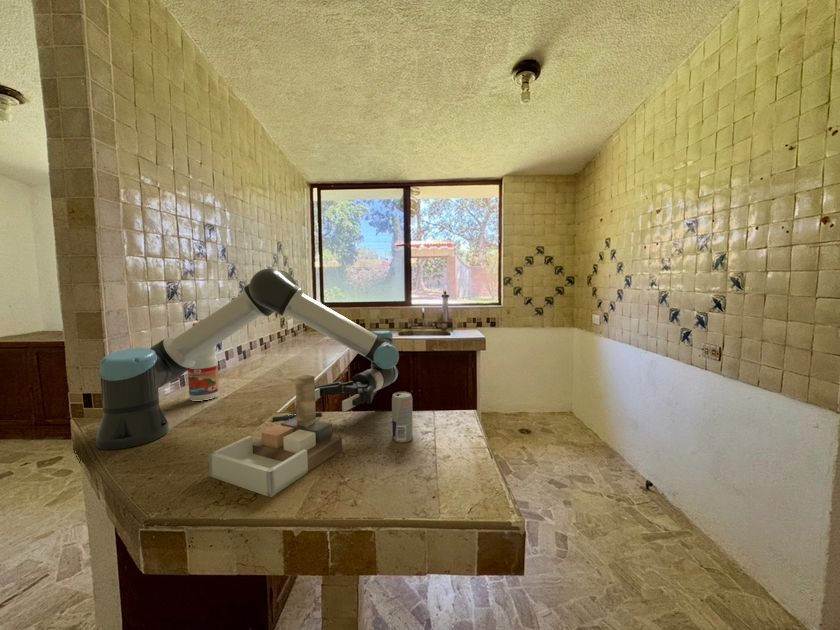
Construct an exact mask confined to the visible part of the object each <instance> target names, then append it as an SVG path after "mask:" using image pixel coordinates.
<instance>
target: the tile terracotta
mask: <svg viewBox="0 0 840 630" xmlns="http://www.w3.org/2000/svg"><path fill="white" fill-rule="evenodd" d="M291 433H293V428H291V427H286V426H281V425H280V424H276V425H275V426H272V427H270V428H268V429H265V430H263V431H261V438H262V445H266V446H270V447H274V448H279V447H281V446H283V445H284V443H283V437H285V436H287V435H289V434H291Z"/></svg>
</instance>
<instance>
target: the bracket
mask: <svg viewBox="0 0 840 630" xmlns="http://www.w3.org/2000/svg"><path fill="white" fill-rule="evenodd" d="M289 414H293V415H289V416H288V415H287V414H284V415H281V416H280V415H279V416H272V422H277V421H276V420H283V421H286V420H285V419H292V418H294V417H297V410H296V409H294V410H293V411H292V412H290V413H289ZM294 414H296V415H294ZM322 415H323V412H321V411H319V412H316V418H320V417H323V416H322Z"/></svg>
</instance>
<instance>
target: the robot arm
mask: <svg viewBox="0 0 840 630" xmlns="http://www.w3.org/2000/svg"><path fill="white" fill-rule="evenodd" d="M274 313H276V314H278V315H280V316H282V317H285V318H286V317H291V318H293V319H294V320H297V321H299V322H300V323H302V324H304V325H305V326H307V327H309V328H311V329H313V330H315V331H317V332H318V333H321V334H322V335H324V336H326V337H328V338H330V339H331V340H332V341H336V342H337V343H338V344H341V345H342V346H344V347H346V348H347V349H349V350H352V351H353V352H355V353H357V354H359V355H360V356H363V357H364V358H365V359H368V360H369V361H370V367H371V368H369V369H366V370H363V371H362V372H360V373H356V374H354V376H353V377H352V378H351V379H350V380H349V381H347V382H343V380H339V381H338V380H337V381H335V382H330V383H324V384H320V385H319V384H318V385H315V401H316V400H319V399H320V398H321V397H326V396H334V395H340V396H344V395H348V396H350V397H348V398H346V399H343V400H342V401H341V410H342V412H343V413H345V412H348V411H349V410H350V409H353V408H354V407H357V406H359V405H360V404H361V405H363V404H365V403H366V404H367V405H371V404H372V401H373V399H374V396H375V395H376V394H377V391H379V390H381V389H384V388H385V387H388V386H391V384H393V383H394V382H396V380H397V379H398V375H399V370H398V368H397V366H396V365H397V364H398V362H399V359H400V353H399V350H398V348H397V347H396V345H395V344H394V343H393V340H394V337H393V333H392V331H391V330H374V331H372V332H371V331H370V330H368V329H367V328H364V327H363V326H361V325H360V324H357V323H356V322H354V321H352V320H350V319H348V318H347V317H345V316H344V315H342V314H340V313H338V312H337V311H335V310H333V309H331V308H330V307H327V306H326V305H324V304H323V303H321V302H319V301H317V300H316V299H314V298H312V297H310V296H309V295H307V294H305V293H304V292H303V288H301V287H300V286H298V285H297V281H296V280H295V279H294V277H293V276H292V275H291V274H290V273H288V272H287V271H284V270H279V269H275V268H264V269H262V270H259V271H257V272H256V273H254V275H253V276H252V278H251V279H250V281H249V283H248V284H246V285H245V286H243V288H242V293H241V294H240V295H239V296H237V297H236V298H234V299H232V300H231V301H229V302H228V303H227V304H225V305H224V306H222V307H220V308H218V309H217V310H216V311H214V312H213V313H211V314H210V315H208V316H207V317H205V318H204V319H201V320H200V321H198V322H196V323H197V324H196V325H194V326H193V325H192V326H191V327H190V328H188V329H186V330H185V331H183V332H182V333H180V334H179V335H178V336H176V337H173V336H167V337H164V339H161V340H160V341H158V342H157V343H156V344H154V345H153V346H151V347H150V348H149V347H148V348H147V347H146V348H144V347H143V348H142V347H138V348H129V349H124V350H121V351H115V352H111V353H109V354H107V355H105V356H103V357H102V359H100V362H99V370H98V375H99V378H100V379H99V380H100V389H101V390H100V392H101V403H102V405H101V406H102V418H101V421H100V423H99V426H98V430H97V433H96V435H95V446H96V448H97V447H98V449H100V450H105V451H106V450H111V451H112V450H121V449H123V450H124V449H129V448H133V447H137V446H141V445H144V444H147V443H152V442H154V441H156V440H158V439H161V438H162V437H164V436H165V435H167V434H168V433H169V421H168V419H167V418H166V416H165V414H164V412H163V410H162V407H161V405H160V400H159V399H160V397H159V388H161V387H163V386H165V385H168V384H170V383H172V382H174V381H176V380H178V379H179V378H181V376H182V375H184V373H186V372H188V370H189V369H190V368H192V367H193V366H194V365H195V359H196V358H198V357H199V356H201V355H202V354H204V353H205V352H207V351H208V350H210V349H211V348H213V347H214V346H216V347H217V345H219V344H220V343H222V342H223V341H225V340H226V339H228V338H229V337H231V336H232V335H234V334H235V333H237V332H238V331H239V330H241V329H243V328H244V327H245V326H247V325H249V324H250V323H252V322H253V321H255V320H257V319H258V318H259V317H264V318H266V317H267V318H268V317H269V316H271V315H273V314H274ZM351 395H352V396H351Z"/></svg>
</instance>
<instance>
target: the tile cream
mask: <svg viewBox="0 0 840 630" xmlns="http://www.w3.org/2000/svg"><path fill="white" fill-rule="evenodd" d="M283 443H284V450H285V451H289V452H293V453H298V452H300V451H302V450H303V449H305V450H308V449H310V448H312V447H313V446H315V445H316V435H315V433H314V432H309V431H305V430H300V429H299V430H297V431H295V432H293V433H291V434H289V435H287V436H285V437H283Z"/></svg>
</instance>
